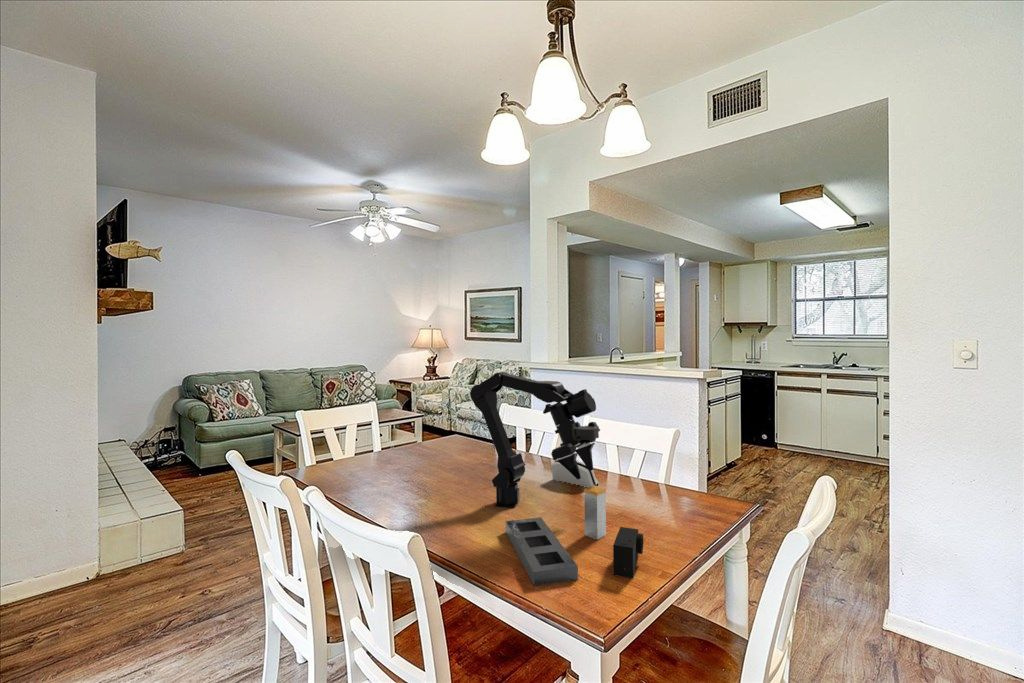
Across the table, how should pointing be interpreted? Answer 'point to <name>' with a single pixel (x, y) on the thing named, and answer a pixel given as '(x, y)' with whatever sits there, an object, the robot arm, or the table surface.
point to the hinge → (565, 476)
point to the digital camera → (626, 551)
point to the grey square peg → (595, 512)
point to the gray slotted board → (541, 552)
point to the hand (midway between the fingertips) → (585, 474)
